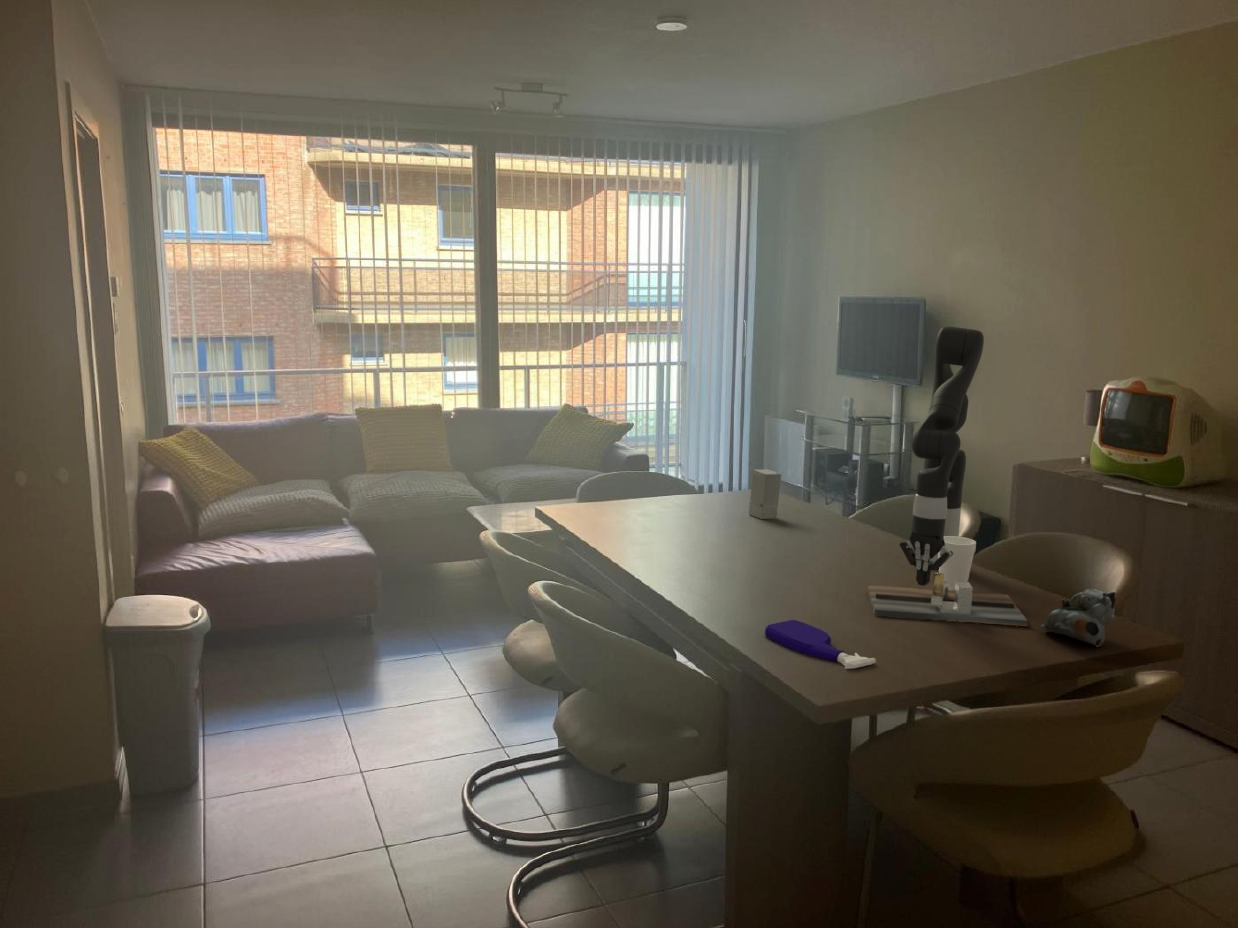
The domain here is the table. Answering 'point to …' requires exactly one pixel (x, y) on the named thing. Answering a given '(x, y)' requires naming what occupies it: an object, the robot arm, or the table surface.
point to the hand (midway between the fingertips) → (922, 584)
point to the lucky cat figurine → (1083, 616)
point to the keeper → (959, 600)
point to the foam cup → (957, 560)
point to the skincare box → (764, 494)
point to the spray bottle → (812, 643)
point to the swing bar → (939, 589)
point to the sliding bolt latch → (919, 606)
